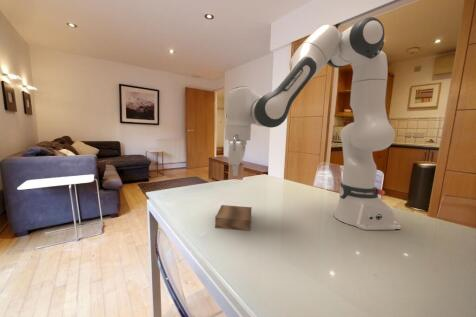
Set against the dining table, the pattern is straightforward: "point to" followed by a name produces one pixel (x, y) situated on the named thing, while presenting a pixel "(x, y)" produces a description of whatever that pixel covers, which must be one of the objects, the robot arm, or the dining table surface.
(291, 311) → the dining table surface
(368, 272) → the dining table surface
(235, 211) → the walnut board
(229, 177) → the terracotta cube
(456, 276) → the dining table surface
